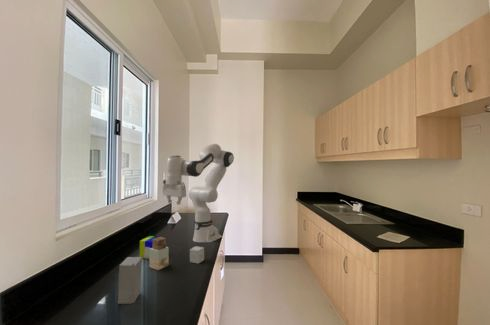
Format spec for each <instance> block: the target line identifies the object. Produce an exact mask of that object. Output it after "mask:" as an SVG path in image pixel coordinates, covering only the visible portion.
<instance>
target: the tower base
mask: <svg viewBox="0 0 490 325" xmlns="http://www.w3.org/2000/svg"><path fill="white" fill-rule="evenodd" d="M169 258H170V257H169V256H168V257H166V258H163V259H161V260H158V261H157V260H154V259H151V258H149V261H148V262H149V264H148V265H149V268H151V269H153V270H157V271H160V270H162V269H165V268H166V267H168V266H169V260H170V259H169Z"/></svg>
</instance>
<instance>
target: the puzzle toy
mask: <svg viewBox="0 0 490 325" xmlns="http://www.w3.org/2000/svg"><path fill="white" fill-rule="evenodd" d="M158 237H159V236H157V235H156V236H154V235H149V236H147V237H145V238H142V239H141V240H139V257H142V259H150V258H149V249H150V248H152V244H153V239H154V238H158ZM162 237H163V238H165V237H164V236H162Z"/></svg>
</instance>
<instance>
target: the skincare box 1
mask: <svg viewBox="0 0 490 325" xmlns="http://www.w3.org/2000/svg"><path fill="white" fill-rule="evenodd" d="M142 262H143V258H142V257H140V256H139V257H138V256H127V257H126V258H125V259H124V260H123V261H122V262H121V263H120V264H119V265H118V268H119V269H118V294H117V304H118V305H120V304H121V305H125V304H129V305H131V304H132V303H133V304H135V302H136V301H137V299H138V297H139V296H140V293H141V288H142V286H141V282H142V267H143V266H142V264H143V263H142Z"/></svg>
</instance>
